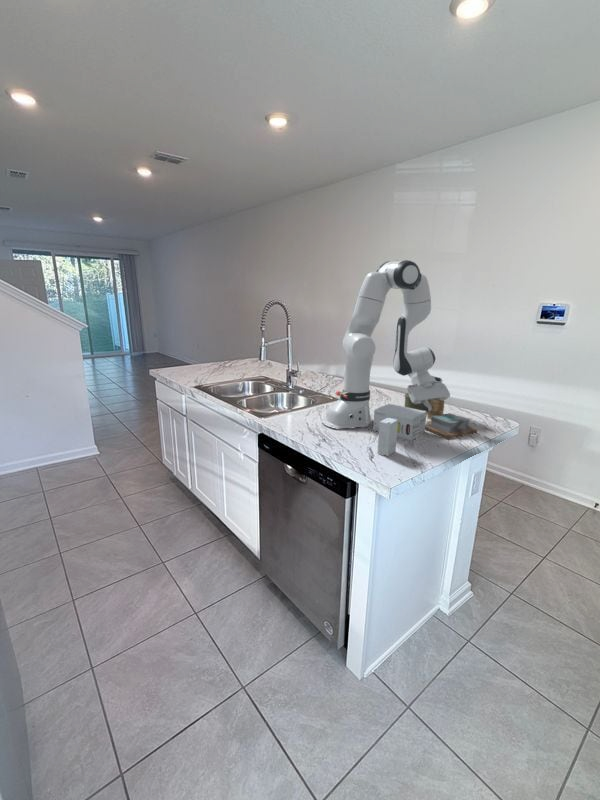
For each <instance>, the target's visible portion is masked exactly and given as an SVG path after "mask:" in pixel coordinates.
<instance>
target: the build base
mask: <svg viewBox="0 0 600 800" xmlns="http://www.w3.org/2000/svg"><path fill="white" fill-rule="evenodd" d="M469 422H470V420H469V419H467V418H466V417H465V418H464V417H462V416H459V415H456V414H453V413H451V412H449V413H443V414H442V415H436V416H432V418H431V421H430V423H425V431H427V432H429V433H431V434H434V435H435V436H439V437H441V438H442V439H446V440H451V439H454V437H456V438H459V437H458V436H461V437H464V436H463V435H466V436H470V435H469V434H471V435H475V434H474V433H476V434H478V429H477V428H473V427H470V426H469ZM450 438H451V439H450Z"/></svg>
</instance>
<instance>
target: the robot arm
mask: <svg viewBox="0 0 600 800" xmlns="http://www.w3.org/2000/svg"><path fill="white" fill-rule="evenodd" d="M391 289H396V290H401V293H402V295H403V299H402V300H403V310H402V312H401V316H400V317H399V318H398V319H397V325H396V331H395V349H394V357H393V361H392V362H393V363H392V364H393V369H394V371H395V372H396V373H397V374H399V375H401V376H408V377H409V378H410V381H411V383H412V384H409V385H407V387H406V390H407V393H409V396H410V399H411V402H412V403H413V404H420V403H423V404H424V405H425V406H426V407H427V408H428V409H429V411H432V410H434V407H433V405H432V406H431V405H430V404H429V400H431V399H441V400H444V401H445V400H447V399H449V398H450V397H451V393H450V390H449V389H448V388H447V386H446V384H444V383H443V379H442V377H438V376H434V375H431V374H430V372H429V370H430V369H431V368H432V367H433V366H434V364H435V363H436V356H435V352H434V351H433V350H432V349H431V348H430V347H428V346H427V347H419V348H416V349H414V350H410V351H408V343H409V335H410V333H411V331H412V330H413V329H414V328H415V327H416V326H418V325H419V324H421V323H422V322H423V321H425V320H426V319H427V318H428V317H429V315H430V313H431V310H432V300H431V297H432V296H431V289H430V285H429V281H428V277H427V276H426V275H424V274H422V273H421V271H420V268H419V266H418V265H417V263H416V262H414V261H412V260H407V259H405V260H403V259H402V260H401V259H400V260H399V259H395V260H388V261H385V262H383V263H382V264H381V265H380V266H379V267H378V269H377V270H376V271H371V272H368V274H366V275H365V278H364V280H363V282H362V284H361V286H360V290H359V293H358V296H357V299H356V303H355V307H354V309H353V310H354V311H353V314H352V316H351V319H350V321H349V324H348V326H347V329H346V331H345V334H344V336H343V338H342V345H341V346H342V349H343V351H344V353H345V354H346V362H345V368H344V370H343V371H344V372H343V373H344V374H343V389H342V391H339V390H336V392H335V395H336V396H338V397H339V399H337V400H336V401H335V402H334V403H333V404H332V405H330V406H329V407H328V408H327V410H326V411H327V412H326V414H325V415H326V416H325V417H322V418H321V419H322V420H325V421H323V422H324V423H325V424H327V425H329V426H331V427H335V428H349V429H352V428H351V427H361V428H368V427H369V426H370V424H371V423H373V422H372V417H371V412H370V399H371V390H370V383H371V382H370V379H371V369H372V365H373V361H374V355H375V353H376V350H377V349H376V348H377V347H376V344H375V341H374V340H373V338H372V335H373V332H374V330H375V328H376V327H377V326H378V324H379V322H380V318H381V314H382V312H383V308H384V306H385V305H384V304H385V302H386V298H387V294H388V292H389V291H390V290H391Z"/></svg>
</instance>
